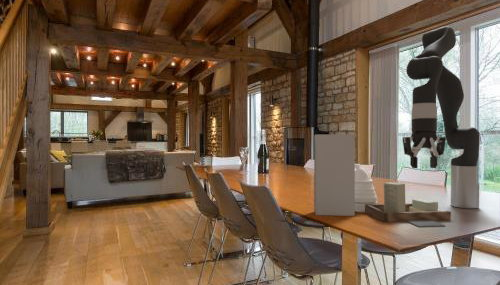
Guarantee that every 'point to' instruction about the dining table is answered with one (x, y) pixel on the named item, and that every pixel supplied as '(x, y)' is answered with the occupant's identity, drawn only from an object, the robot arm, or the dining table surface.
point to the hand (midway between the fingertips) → (423, 167)
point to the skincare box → (394, 197)
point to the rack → (405, 214)
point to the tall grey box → (334, 175)
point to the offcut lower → (416, 210)
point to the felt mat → (425, 223)
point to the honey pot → (363, 189)
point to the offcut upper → (425, 204)
